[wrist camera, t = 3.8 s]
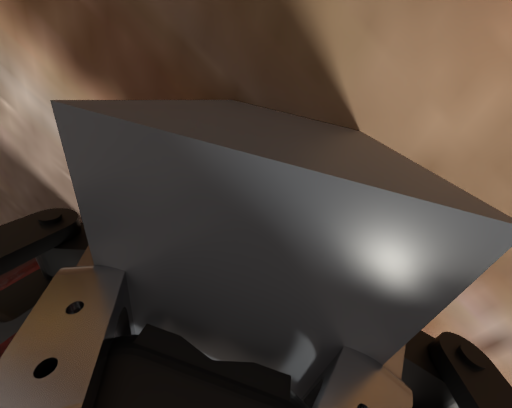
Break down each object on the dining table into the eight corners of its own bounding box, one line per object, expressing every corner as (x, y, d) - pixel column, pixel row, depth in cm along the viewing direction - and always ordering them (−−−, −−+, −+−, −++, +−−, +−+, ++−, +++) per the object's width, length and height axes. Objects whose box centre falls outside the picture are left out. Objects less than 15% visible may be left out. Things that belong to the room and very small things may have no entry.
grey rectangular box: (360, 131, 10) (530, 229, 2) (297, 273, 14) (290, 450, 7) (231, 99, 10) (50, 100, 3) (212, 246, 15) (125, 384, 8)
